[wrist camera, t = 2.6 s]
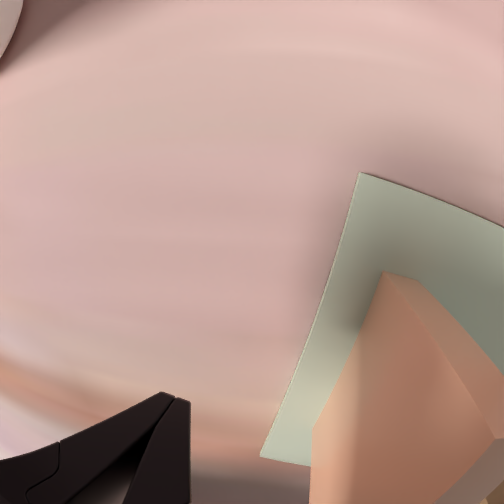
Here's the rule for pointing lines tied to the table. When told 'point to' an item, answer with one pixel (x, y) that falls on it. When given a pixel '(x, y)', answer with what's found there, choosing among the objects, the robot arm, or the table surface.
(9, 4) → the grey cylinder
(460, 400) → the tile
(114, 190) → the table surface
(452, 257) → the felt mat
